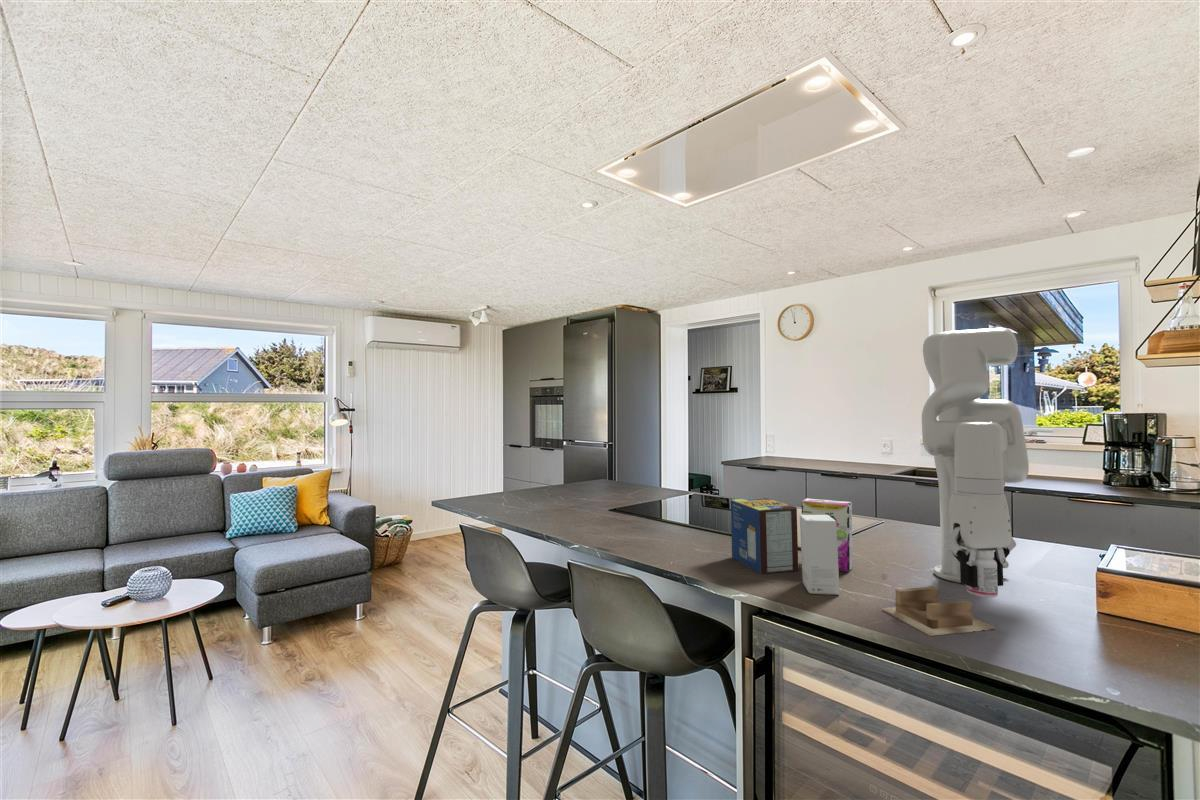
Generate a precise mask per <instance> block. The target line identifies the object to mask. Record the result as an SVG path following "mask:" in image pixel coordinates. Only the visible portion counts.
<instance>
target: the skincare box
mask: <svg viewBox="0 0 1200 800" xmlns="http://www.w3.org/2000/svg"><path fill="white" fill-rule="evenodd" d="M799 527H800V528H799V530H800V531H799V533H800V548H801V549H800V550H801V551H800V553H801V572H802V573H801V575H802V576H801V577H802V583H803V585H804V587H805V589H806V591H807V592H808V593H809V594H812V595H813V594H814V595H833V596H837V595H838V596H839V595H840V575H839V573H840V571H839V570H838V548H837V526H836V521H835V520H834V519H832V518H831V517H830V516H829V515H802V514H799Z"/></svg>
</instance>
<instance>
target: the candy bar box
mask: <svg viewBox="0 0 1200 800" xmlns="http://www.w3.org/2000/svg"><path fill="white" fill-rule="evenodd" d="M801 515H829V516H830V517H831V518H832V519H834V520H835V521H836V526H837V548H838V570H839V572H845V573H850V572H851V570H852V568H853V567H854V565H853V563H854V562H853V503H852V502H851V501H841V500H831V499H821V498H819V499H818V498H807V497H806V498H804V499H802V500H801Z"/></svg>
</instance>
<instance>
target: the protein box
mask: <svg viewBox="0 0 1200 800" xmlns="http://www.w3.org/2000/svg"><path fill="white" fill-rule="evenodd" d="M797 512H798V507H797V506H794V505H791V504H787V503H783V502H780V501H776V500H773V499H770V498H766V497H758V498H755V497H753V498H738V499H736V498H735V499H730V516H731V517H730V524H731V525H730V526H731V527H730V528H731V530H730V531H731V558H732V557H733V558H732V559H735V560H736V561H737V560H738V561H737V562H739V561H740V562H739V563H741V564H742V563H743V564H742V565H744V564H745V565H744V566H746V567H748V568H749V567H750V568H749V569H751V570H752V571H754V570H755V571H754V572H756V573H758V574H759V573H760V574H761V575H763V573H765V574H775V573H776V574H777V573H785V572H786V573H787V572H796V571H797V572H798V571H799V553H798V552H799V549H798V548H799V546H798V545H799V544H798V543H799V542H798V538H799V537H798V513H797Z"/></svg>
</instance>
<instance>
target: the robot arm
mask: <svg viewBox="0 0 1200 800" xmlns="http://www.w3.org/2000/svg"><path fill="white" fill-rule="evenodd" d="M923 341H924V342H923V344H922V354H923V355H922V356H923V361H924V364H925V369H926V370H927V373H928V376H929V377H930V379H931V381H932V383H933V385H934V388H935V391H933V393H931V394H930V396H929V397H928V399H927V400H926V402H925V403H924V406H923V408H922V412H921V432H922V433H921V435H922V444H923V447H924V449H925V451H926V452H927V453H928V454H929V455H930V456H932V457H933V460H934V465H935V469H936V475H937V482H938V483H937V484H938V491H939V493H938V495H939V517H940V518H939V520H940V522H939V524H940V558H941V559H940V561H941V562H940V563H941V564H940V565H935V566H934V567H933V574H934V575H935V576H936V577H939V578H941V579H943V580H947V581H948V582H949V581H950V582H953V583H958V584H962V585H965V586H967V585H968V586H970V587H973V588H975V587H977V586H978V577H977V566H975V565H974V561H975V556H976V551H977V549H993V550H994V558H993V560H995V561H996V562H997V578H998V586H999V587H1003V586H1004V569H1008V568H1009V562H1008V561H1007V559H1006V558H1007V557H1008V556H1009V555H1010V553H1011V551H1013V549H1014V548H1016V546H1017V542H1016V541H1015V539H1014V538H1013V536H1012V526H1011V516H1010V511H1009V510H1010V509H1009V506H1008V501H1007V497H1006V495H1005V492H1004V491H1005V490H1004V489H1005V487H1006V484H1017V483H1018V484H1019V483H1021V482H1024V481H1025V480H1026V479H1027V478H1028V475H1029V470H1030V469H1029V468H1030V467H1029V464H1030V463H1029V457H1028V449H1027V443H1026V438H1025V432H1024V425H1023V420H1022V419H1023V418H1022V415H1021V411H1020V409H1019V407H1018V406H1017V405H1016V403H1014V402H1013V401H1011V400H1008V399H1001V398H1000V399H999V398H998V399H992V398H991V399H981V397H982V396H984V395H985V394H986V393H987V392H988V390H989V388H990V378H989V373H988V367H995V366H996V367H997V366H1010V365H1012V364H1014V362H1015V361H1016V360H1017V357H1018V351H1019V348H1018V346H1019V345H1018V341H1017V338H1016V336H1015V333H1014V332H1013V331H1012V330H1011V329H1009V328H1008V327H1007V328H1006V327H993V328H992V327H991V328H990V327H989V328H977V329H976V328H975V329H961V330H948V331H941V332H937V333H934V334H933V333H932V334H931V335H929V336H927V337H926V338H925V340H923ZM937 417H938V419H937Z"/></svg>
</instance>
